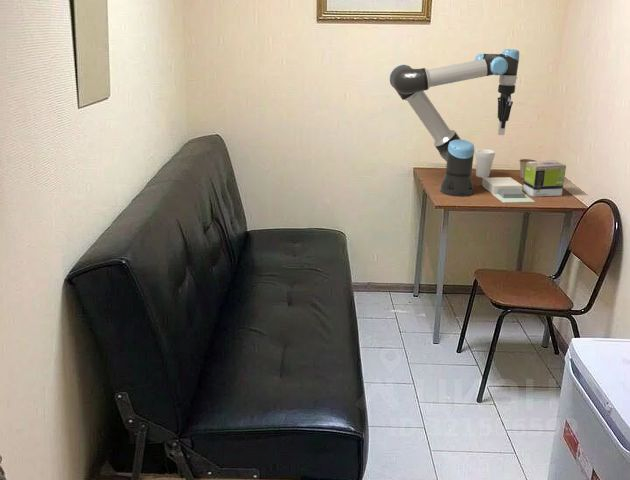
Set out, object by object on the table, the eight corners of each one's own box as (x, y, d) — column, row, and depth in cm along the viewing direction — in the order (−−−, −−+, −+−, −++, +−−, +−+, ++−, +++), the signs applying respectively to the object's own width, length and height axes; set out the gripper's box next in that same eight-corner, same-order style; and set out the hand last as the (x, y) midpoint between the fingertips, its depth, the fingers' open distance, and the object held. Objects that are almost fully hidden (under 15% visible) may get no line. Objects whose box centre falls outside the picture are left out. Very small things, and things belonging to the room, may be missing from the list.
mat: (503, 202, 283) (503, 202, 283) (492, 194, 295) (492, 193, 295) (535, 202, 285) (535, 201, 285) (523, 194, 297) (523, 193, 297)
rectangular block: (503, 198, 289) (503, 193, 288) (497, 193, 295) (498, 189, 294) (524, 198, 290) (525, 193, 289) (518, 193, 296) (519, 189, 295)
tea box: (551, 190, 304) (556, 159, 299) (562, 196, 295) (567, 165, 290) (521, 190, 302) (526, 160, 297) (532, 197, 293) (536, 166, 287)
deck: (493, 194, 295) (494, 186, 294) (481, 185, 308) (482, 177, 307) (521, 193, 297) (522, 185, 296) (509, 185, 310) (510, 177, 309)
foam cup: (472, 173, 330) (475, 148, 325) (490, 174, 329) (493, 149, 324) (474, 177, 321) (477, 152, 316) (492, 179, 320) (496, 153, 315)
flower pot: (534, 175, 328) (536, 159, 325) (537, 180, 319) (540, 164, 316) (515, 174, 329) (518, 158, 326) (518, 179, 320) (520, 162, 317)
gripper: (520, 86, 288) (513, 137, 297) (509, 82, 300) (503, 131, 309) (504, 86, 287) (498, 137, 296) (494, 82, 299) (488, 131, 308)
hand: (500, 134), depth 302 cm, fingers closed
